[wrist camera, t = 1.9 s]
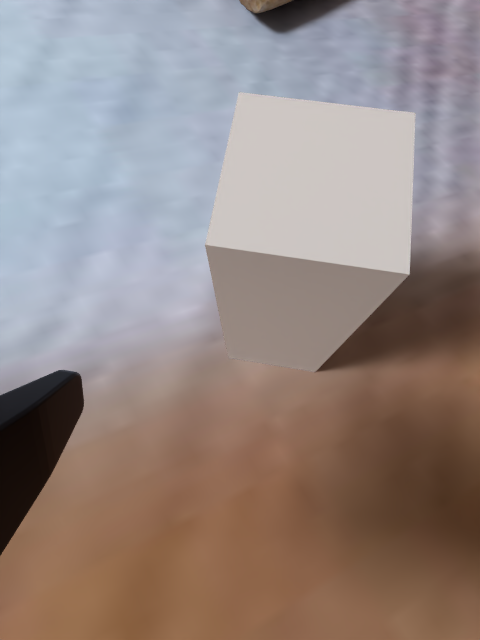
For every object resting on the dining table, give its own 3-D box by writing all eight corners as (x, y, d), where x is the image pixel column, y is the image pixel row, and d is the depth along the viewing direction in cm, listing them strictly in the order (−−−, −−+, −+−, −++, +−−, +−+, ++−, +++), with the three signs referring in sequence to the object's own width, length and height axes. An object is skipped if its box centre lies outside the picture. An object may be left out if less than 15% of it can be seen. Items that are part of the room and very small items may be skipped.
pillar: (314, 372, 20) (409, 274, 8) (228, 358, 20) (204, 245, 9) (323, 291, 21) (415, 113, 10) (242, 279, 21) (238, 92, 10)
